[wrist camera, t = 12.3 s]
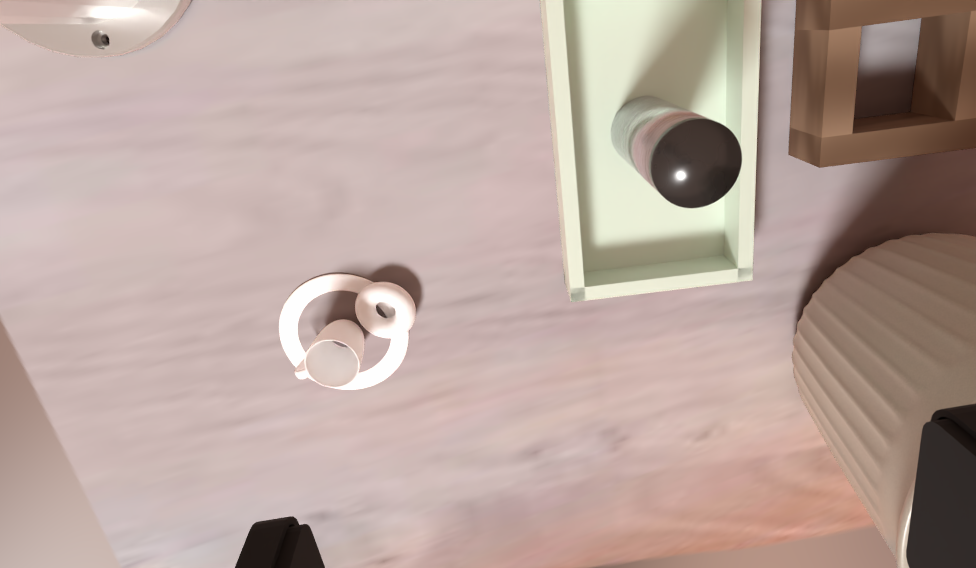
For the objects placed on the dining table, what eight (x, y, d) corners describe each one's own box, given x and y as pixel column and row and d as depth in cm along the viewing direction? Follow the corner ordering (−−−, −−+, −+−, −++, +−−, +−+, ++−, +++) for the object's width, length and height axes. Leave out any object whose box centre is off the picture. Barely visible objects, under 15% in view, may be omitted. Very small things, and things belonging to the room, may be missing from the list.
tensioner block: (796, -2, 32) (831, -5, 29) (1109, -45, 32) (1181, -53, 29) (788, 154, 35) (819, 167, 32) (1074, 118, 35) (1135, 127, 32)
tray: (537, -31, 32) (542, -37, 29) (738, -60, 31) (763, -68, 29) (564, 282, 38) (571, 302, 35) (732, 261, 38) (752, 280, 35)
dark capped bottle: (608, 100, 33) (651, 125, 25) (677, 91, 33) (743, 113, 25) (612, 168, 35) (653, 213, 26) (678, 159, 35) (740, 202, 26)
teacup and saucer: (411, 262, 38) (403, 288, 34) (431, 377, 41) (426, 413, 37) (267, 278, 38) (244, 306, 34) (297, 391, 41) (278, 428, 37)
